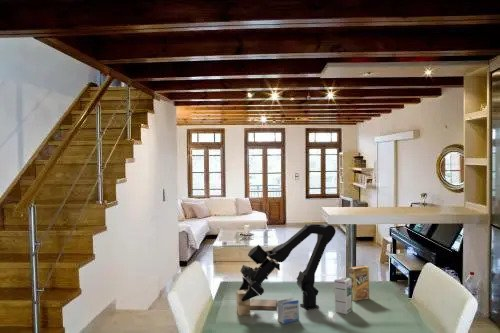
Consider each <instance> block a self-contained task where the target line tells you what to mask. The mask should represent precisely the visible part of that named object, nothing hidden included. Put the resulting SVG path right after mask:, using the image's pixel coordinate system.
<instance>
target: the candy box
mask: <svg viewBox="0 0 500 333" xmlns="http://www.w3.org/2000/svg"><path fill="white" fill-rule="evenodd" d="M348 276H349V277H348V278H351V280H352V301H354V302H355V301H361V300H368V299H370V266H367V265H364V264H363V265H355V266H350V267H348Z"/></svg>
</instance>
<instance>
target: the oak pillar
mask: <svg viewBox="0 0 500 333" xmlns="http://www.w3.org/2000/svg"><path fill="white" fill-rule="evenodd" d="M235 291H236V312H237V315H238V316H247V315H251V309H250V302H251V298H250V299H248V300H246V301H242V300H241V299H242V298H243V296H244V295H245V293H246V292H247V290H239V289H237V290H235Z"/></svg>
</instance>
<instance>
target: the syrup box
mask: <svg viewBox="0 0 500 333" xmlns="http://www.w3.org/2000/svg"><path fill="white" fill-rule="evenodd" d="M333 280H334V281H333V283H334V309H335V310H334V311H335V313H339V314H345V315H348V314H349V313H351V312H352V311H353V300H352V280H351V278H349V277H345V276H339V277H337V278H336V279H333Z"/></svg>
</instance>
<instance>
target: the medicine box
mask: <svg viewBox="0 0 500 333" xmlns="http://www.w3.org/2000/svg"><path fill="white" fill-rule="evenodd" d="M299 306H300V304H299V299H297V298H295V297H291V298H285V299H280V300H277V321H278V322H280V323H281V324H284V325H285V323H286V324H289V323H294V322H297V321H299V320H300V315H299V314H300V313H299V312H300V311H299V309H300V307H299Z"/></svg>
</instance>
